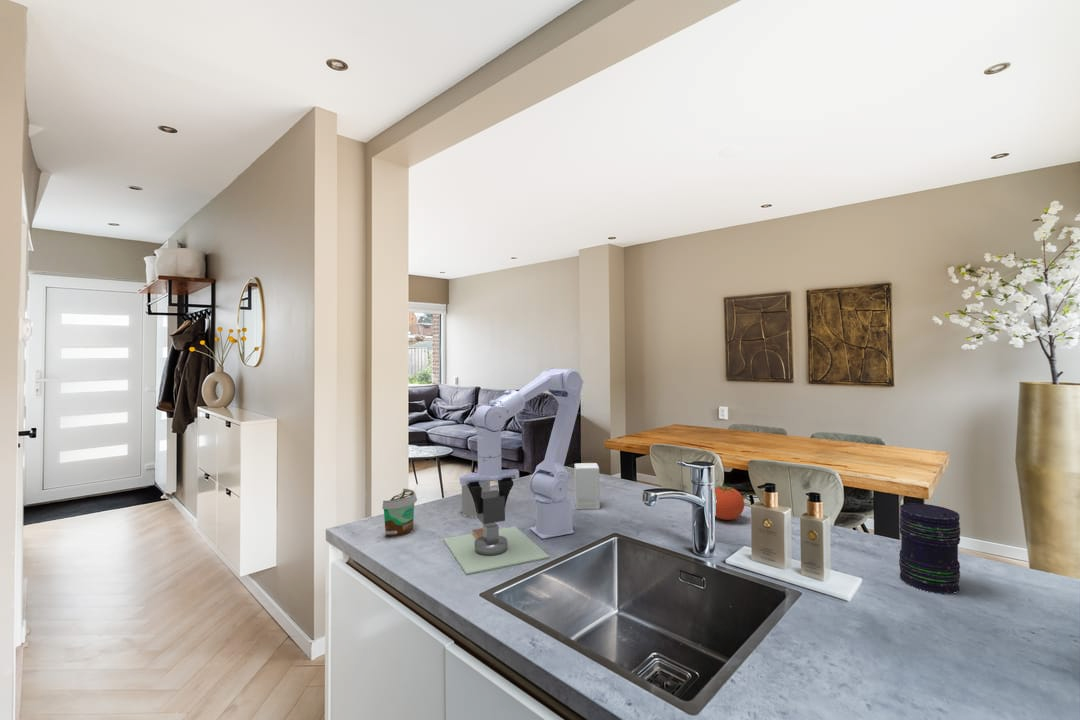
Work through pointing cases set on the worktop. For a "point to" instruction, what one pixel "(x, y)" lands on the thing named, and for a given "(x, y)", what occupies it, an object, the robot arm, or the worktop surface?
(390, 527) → the food container
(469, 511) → the cup
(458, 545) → the tool mat
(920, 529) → the storage jar
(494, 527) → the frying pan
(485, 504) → the dark grey cube
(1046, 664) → the worktop surface
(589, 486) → the supplement box
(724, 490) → the tomato
